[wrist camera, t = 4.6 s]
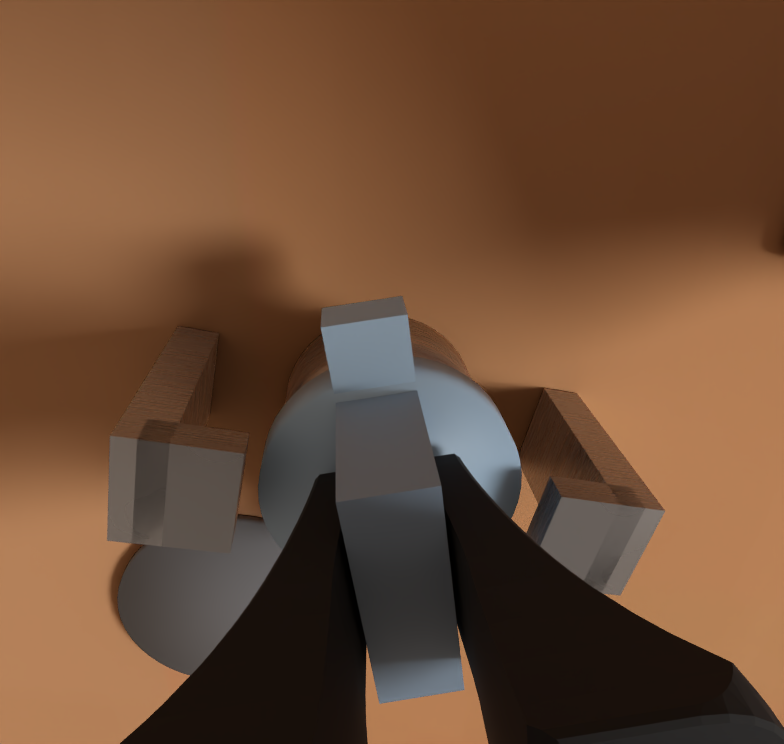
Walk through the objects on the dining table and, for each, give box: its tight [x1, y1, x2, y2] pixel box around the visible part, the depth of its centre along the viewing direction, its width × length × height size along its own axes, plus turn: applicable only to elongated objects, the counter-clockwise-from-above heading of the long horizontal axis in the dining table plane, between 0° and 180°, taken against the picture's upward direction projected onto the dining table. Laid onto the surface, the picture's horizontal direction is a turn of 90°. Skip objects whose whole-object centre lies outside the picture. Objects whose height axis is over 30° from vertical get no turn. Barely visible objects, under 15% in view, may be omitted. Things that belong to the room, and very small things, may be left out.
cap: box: [258, 296, 522, 704], centre depth 12 cm, size 8×6×4 cm
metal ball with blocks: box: [107, 319, 665, 595], centre depth 14 cm, size 11×5×5 cm, turn 77°
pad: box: [117, 515, 282, 675], centre depth 19 cm, size 7×7×1 cm
